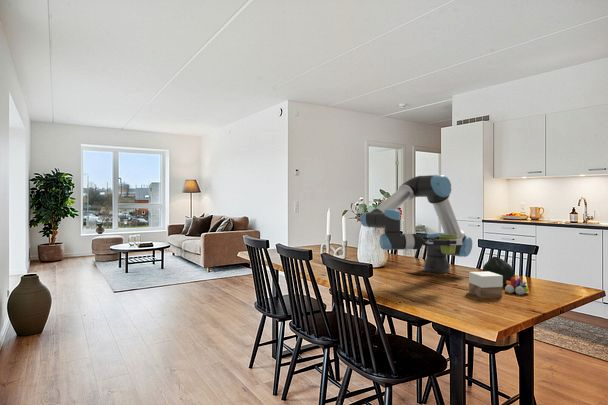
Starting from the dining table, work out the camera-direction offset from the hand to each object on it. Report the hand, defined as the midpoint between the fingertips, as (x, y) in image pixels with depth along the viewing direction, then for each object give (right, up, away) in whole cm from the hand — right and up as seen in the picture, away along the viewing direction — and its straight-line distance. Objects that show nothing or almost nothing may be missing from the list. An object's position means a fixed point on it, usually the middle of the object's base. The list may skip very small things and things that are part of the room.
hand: (457, 240), depth 186 cm
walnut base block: (+8, -24, -11) cm, 28 cm away
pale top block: (+8, -19, -11) cm, 23 cm away
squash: (+26, -24, +11) cm, 37 cm away
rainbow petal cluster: (+25, -24, -7) cm, 35 cm away
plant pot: (-5, -6, 0) cm, 8 cm away
